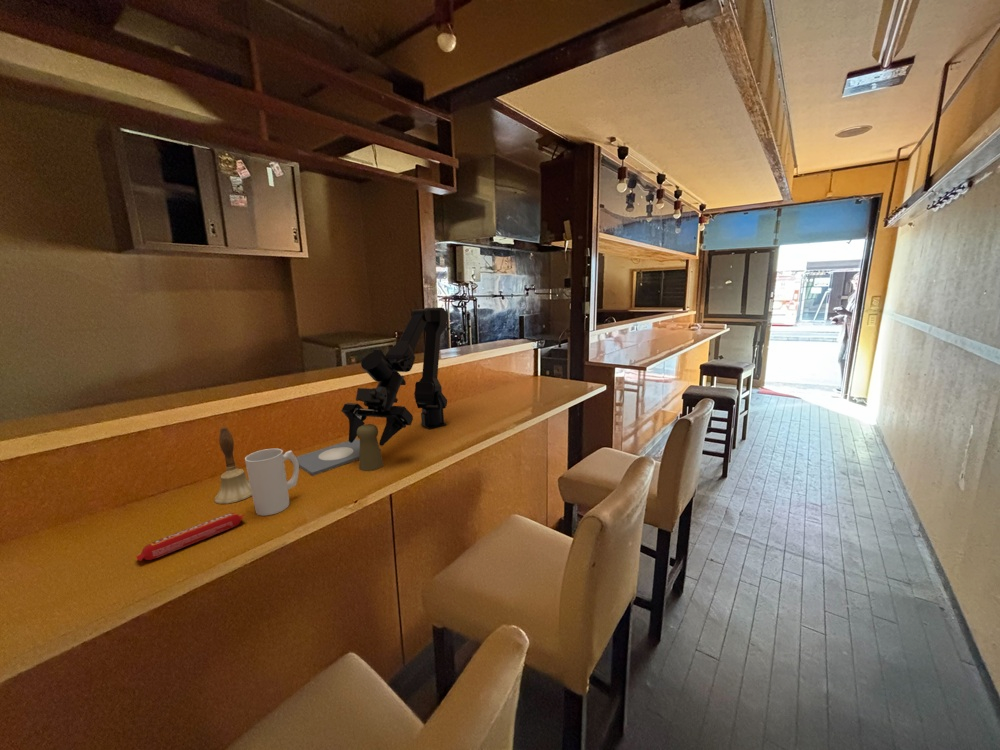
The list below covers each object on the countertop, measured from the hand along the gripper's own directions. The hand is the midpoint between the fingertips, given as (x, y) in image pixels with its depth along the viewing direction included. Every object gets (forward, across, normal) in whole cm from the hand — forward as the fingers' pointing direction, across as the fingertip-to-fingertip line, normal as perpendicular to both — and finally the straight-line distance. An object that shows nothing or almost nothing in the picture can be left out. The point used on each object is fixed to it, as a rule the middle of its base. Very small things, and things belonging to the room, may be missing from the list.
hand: (365, 443), depth 101 cm
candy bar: (+30, -12, -20) cm, 37 cm away
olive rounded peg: (+4, 0, +6) cm, 7 cm away
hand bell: (+19, -21, -9) cm, 30 cm away
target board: (+2, -14, +8) cm, 16 cm away
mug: (+19, -7, -10) cm, 23 cm away
